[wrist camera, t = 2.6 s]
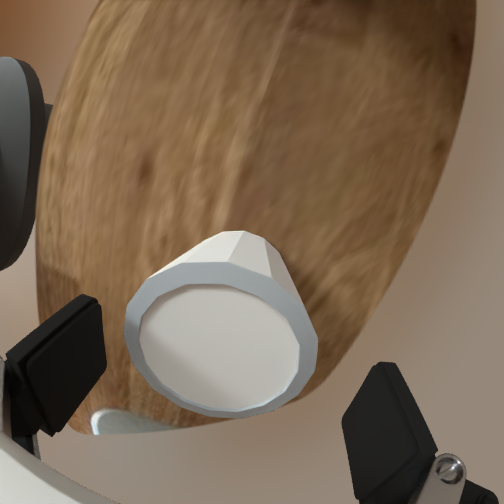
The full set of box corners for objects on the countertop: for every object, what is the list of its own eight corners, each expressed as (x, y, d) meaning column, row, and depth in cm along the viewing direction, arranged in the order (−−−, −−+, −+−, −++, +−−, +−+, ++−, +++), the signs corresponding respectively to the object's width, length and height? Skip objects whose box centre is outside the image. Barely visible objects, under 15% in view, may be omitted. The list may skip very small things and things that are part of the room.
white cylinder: (175, 320, 16) (131, 398, 10) (182, 209, 14) (116, 244, 8) (285, 339, 16) (291, 429, 10) (310, 230, 14) (345, 282, 8)
